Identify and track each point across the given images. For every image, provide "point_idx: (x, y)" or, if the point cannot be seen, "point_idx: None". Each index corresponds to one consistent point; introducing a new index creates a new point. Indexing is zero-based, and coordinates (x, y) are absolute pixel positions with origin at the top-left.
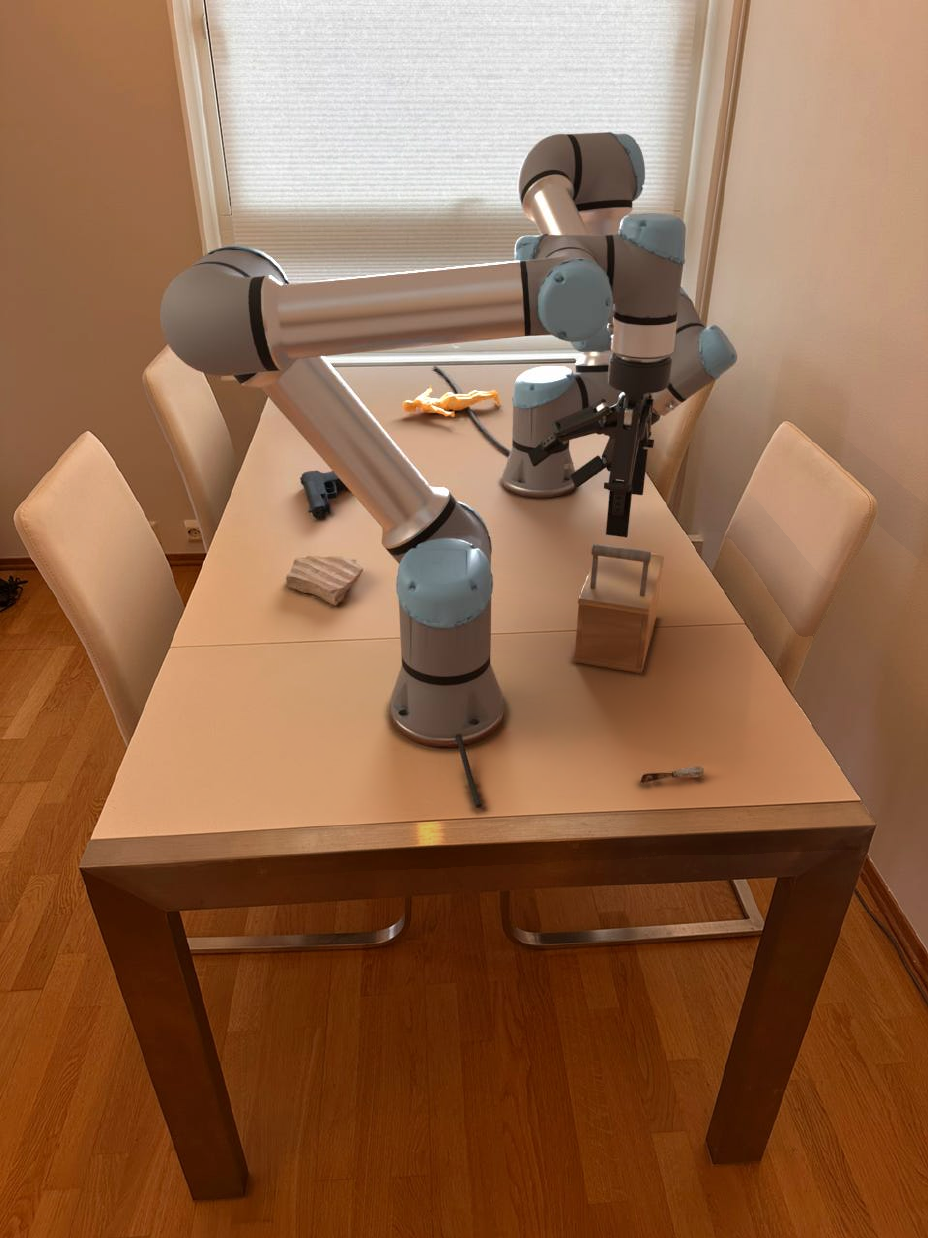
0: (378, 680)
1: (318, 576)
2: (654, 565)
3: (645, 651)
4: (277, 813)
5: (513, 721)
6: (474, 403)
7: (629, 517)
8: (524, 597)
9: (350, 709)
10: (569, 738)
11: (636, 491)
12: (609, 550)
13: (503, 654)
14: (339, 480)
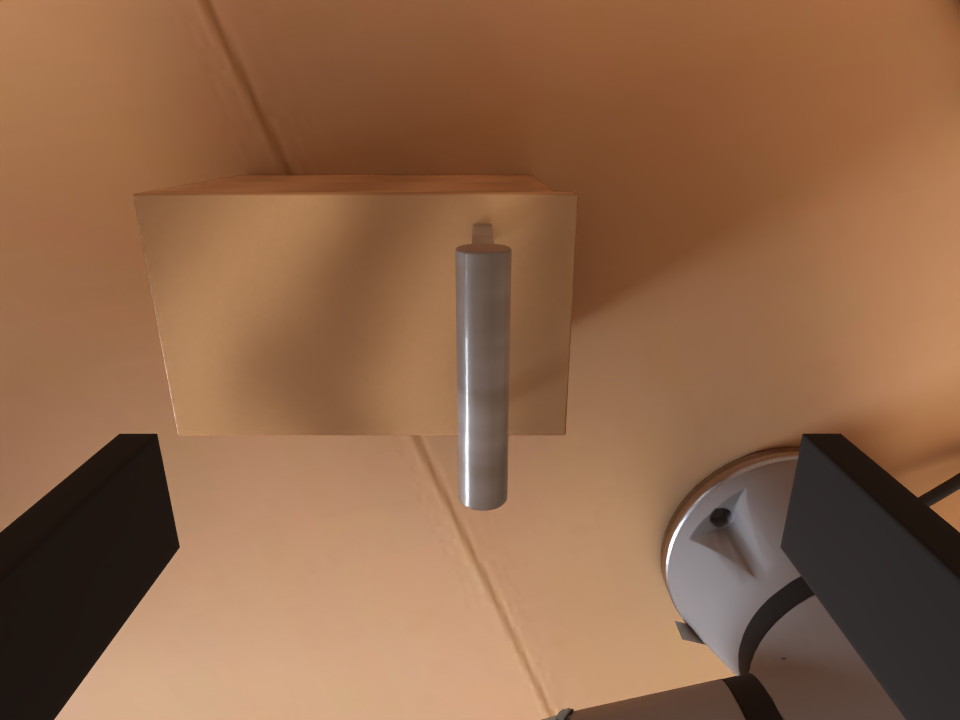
0: (693, 680)
1: None
2: (231, 220)
3: (488, 177)
4: None
5: (785, 423)
6: None
7: (881, 503)
8: (280, 516)
9: None
10: (830, 299)
11: (153, 483)
12: (502, 436)
13: (541, 500)
14: None
